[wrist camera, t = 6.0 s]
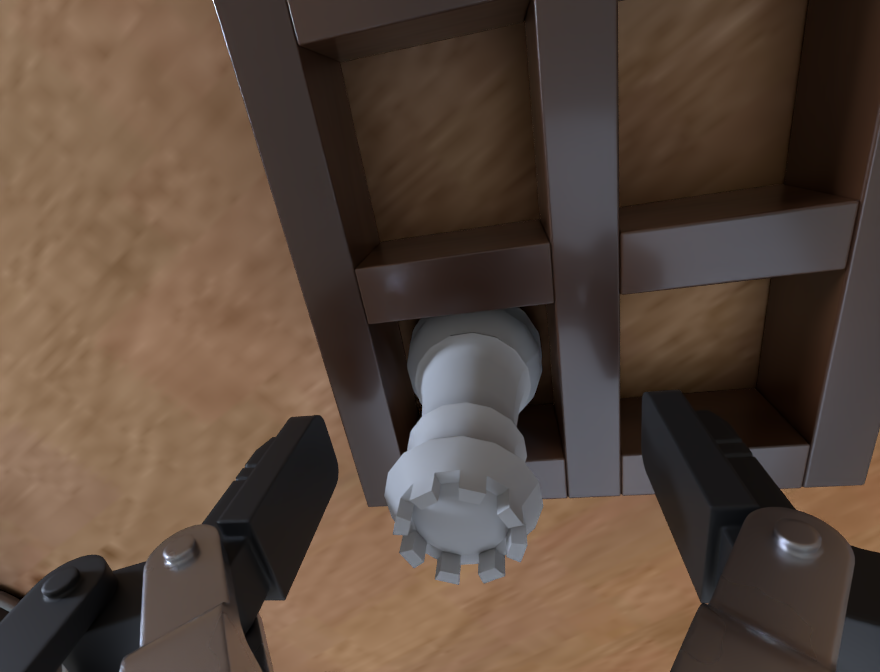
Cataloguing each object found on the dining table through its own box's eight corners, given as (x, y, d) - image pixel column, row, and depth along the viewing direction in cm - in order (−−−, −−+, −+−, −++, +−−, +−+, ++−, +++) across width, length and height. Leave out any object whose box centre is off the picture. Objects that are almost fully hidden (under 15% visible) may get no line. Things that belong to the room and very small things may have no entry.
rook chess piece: (514, 267, 14) (535, 412, 7) (558, 381, 16) (611, 595, 9) (389, 314, 15) (299, 480, 8) (442, 416, 17) (404, 631, 10)
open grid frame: (386, 450, 18) (367, 507, 15) (167, -373, 9) (35, -572, 7) (801, 423, 16) (865, 486, 13) (1018, -729, 7) (1353, -1274, 4)
